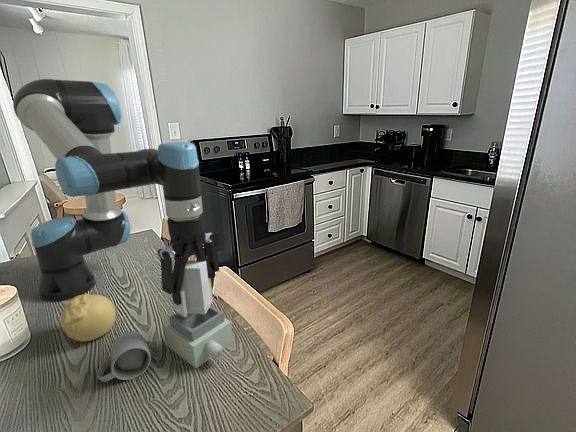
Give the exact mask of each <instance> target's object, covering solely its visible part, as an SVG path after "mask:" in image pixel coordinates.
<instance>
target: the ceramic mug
mask: <svg viewBox="0 0 576 432" xmlns="http://www.w3.org/2000/svg"><path fill="white" fill-rule="evenodd" d="M151 360H152V356H151V353H150V348H149V345H148V344H147V339H146V338H145V336H144V335H143V334H142V333H140V332H139V331H135V330H133V331H132V330H131V331H126V332H124V333H122V334H120V335H118V336H117V337H116V338H115V340H114V341H113V344H112V345H111V349H110V356H109V357H108V358H107V359H105V360H104V361H103V362H102V363H101V365H100V366H98V367H99V368H98V369H97V373H96V378H97V379H98V380H99V381H100V382H102V383H106V382H107V383H108V382H109V381H111V380H113V379H114V378H116V379H118V380H120V381H121V380H122V381H130V380H133V379H136V378H139V377H140V376H142V375H143V374H144V373H145V372H146V370H148V368H149V367H150V364H151ZM109 366H110V368H111V369H110V371H111V372H108V373H107V374H105V375H104V373H105V371H106V369H107V368H108V367H109Z"/></svg>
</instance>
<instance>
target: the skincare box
mask: <svg viewBox="0 0 576 432" xmlns="http://www.w3.org/2000/svg"><path fill="white" fill-rule="evenodd" d="M181 289H182V290H183V291H185V299H186V307H187V313H193V314H206V312H207V311H208V309H209V308H210V306H212V302H211V301H210V292H209V282H208V273H207V264H206V261H204V262H202V261H197V260H189V259H188V262H187V263H186V266H185V271H184V277H183V282H182V287H181Z"/></svg>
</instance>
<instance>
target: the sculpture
mask: <svg viewBox="0 0 576 432" xmlns="http://www.w3.org/2000/svg"><path fill="white" fill-rule="evenodd" d="M116 315H117V313H116V307H115V306H114V304H113V302H112V300H110V299H109V298H108V297H106V296H104V295H101V294H88V293H84V294H82V295H78V296H76V297H74V298H71V299H69V301H68V300H67V301H66V302H65V304H64V310H62V311H61V313H60V316H59V319H60V322H59V324H60V327H61V328H62V329H61V330H62V331H63V332H65V334H66V336H67V337H68V339H72V340H74V341H77V342H80V343H81V342H82V343H84V342H89V341H93V340H96V339H98V338H100V337H102V336H104V335H106V334H107V333H108V332H110V330H111V329H113V326H114V324H115V321H116V317H117V316H116Z"/></svg>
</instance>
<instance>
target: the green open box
mask: <svg viewBox="0 0 576 432" xmlns="http://www.w3.org/2000/svg"><path fill="white" fill-rule="evenodd" d="M187 315H188V316H187V317H183V316H182V315H180V314H179V313H178V311H177V312H175V313H174V314H172V315H170V316H169V317H168V318H169V321H168V322H167V323H165V324H164V325H163V328H164V336H165V342H166V346H167V347H168V348H169V349H170V350H172V351H173V353H176V354H177V355H178V356H179V357H181V358H182V359H183V360H184V361H186V363H188V364H189V365H190V366H192V367H193V368H195V369H198V368H199V367H201V366H202V365H204V363H206V362H208V361H209V360H211V358H212V359H218V358H219V357H221V354H222V353H223V350H224V349H225V348H227V347H228V346H230V344H232V343H234V341H233V325H232V321H231V320H229V319H227V318H226V317H225V313H224V312H223V311H221V310H219V309H218V308H216V307H214V306H212V305H211V306H210V308H209V309H208V311H207V312H206V314H193V313H187Z"/></svg>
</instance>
